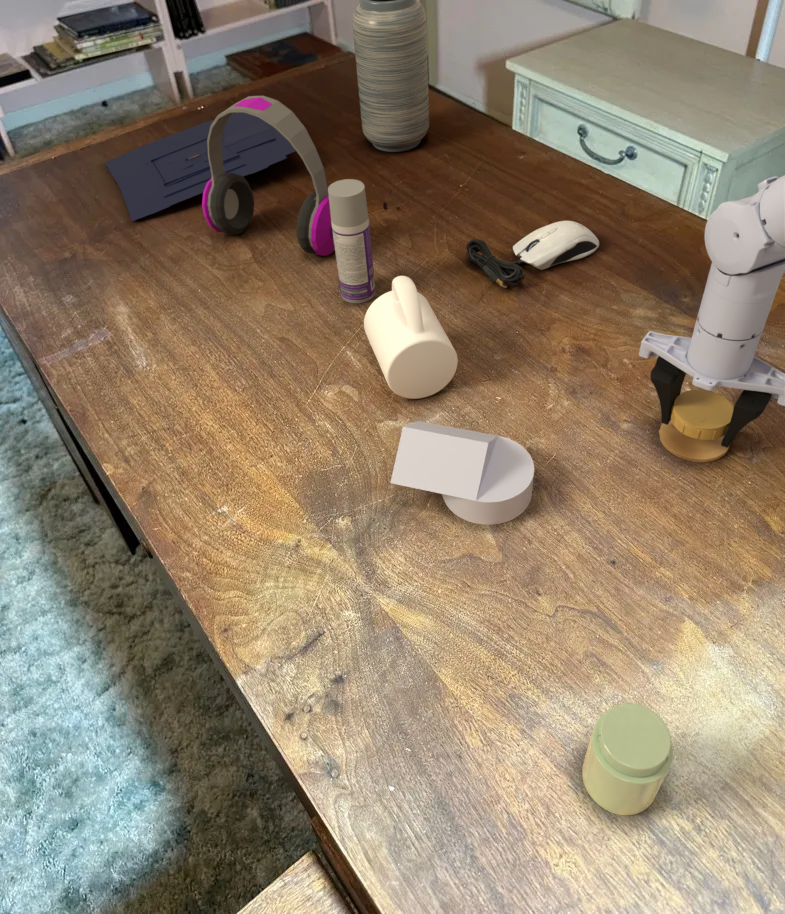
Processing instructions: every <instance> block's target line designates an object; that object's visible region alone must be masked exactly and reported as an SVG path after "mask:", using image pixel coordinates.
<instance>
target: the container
mask: <svg viewBox="0 0 785 914" xmlns="http://www.w3.org/2000/svg"><path fill="white" fill-rule="evenodd" d="M327 187H328V195H329V205H330V214H331V223H332V232H333V239H334V246H335V249H334V253H335V260H336V261H335V262H336V267H337V273H338V274H337V276H338V281H339V290H340V296H341V298H342V299H343V300H344V301H345V302H347V303H350V304H362V303H367V302H369V301H370V300H372V299H373V298H374V297H375V295H376V290H377V289H376V281H375V269H374V259H373V248H372V238H371V236H372V235H371V227H370V226H371V225H370V219H369V218H370V217H369V211H368V210H369V209H368V202H367V195H366V186H365V184H364V182H362V181H361V180H359V179H354V178H346V179H345V178H344V179H340V180H336V181H334V182H331V184H330V185H329V186H327Z"/></svg>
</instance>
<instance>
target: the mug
mask: <svg viewBox="0 0 785 914" xmlns="http://www.w3.org/2000/svg"><path fill="white" fill-rule="evenodd" d="M363 328H364V332H365V336H366V338H367V340H368V343H369V345H370V347H371V349H372V351H373V354H374V357H375V358H376V361H377V362H378V365H379V367H380V369H381V373H382V374H383V377H384V378H385V381H386V383H387V386H388V388H389V389H390V390H391V391H392V392H393V394H395V395H397V396H399V397H402V398H404V399H411V400H417V399H423V398H428V397H431V396H433V395H435V394H437V393H439V392H440V391H441V390H443V389H444V388H445V387H446V386H448V384H449V383H450V382H451V381H452V379H453V378H454V376H455V374H456V372H457V368H458V363H459V360H458V354H457V351H456V350H455V347H454V346H453V344H452V343H451V340H450V338H449V337H448V335H447V334H446V332H445V330H444V328H443V326H442V324H441V323H440V321H439V319H438V317H437V316H436V314H435V312H434V310H433V308H432V306H431V305H430V303H429V302H428V299H426V297H425V296H424V295H423V294H422V293H420V292H418V289H417V286H416V285H415V282H414V280H413V279H412V278H410V277H409V276H406V275H398V276H395V277H394V278H393V279H392V281H391V290H390V291H387V292H385V293H383V294H381V295H380V296H379V297H377V298H376V299H374V301H373V302H372V303H371V304H370V306H369V307H368V309H367V310H366V313H365V315H364V318H363Z"/></svg>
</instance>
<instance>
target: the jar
mask: <svg viewBox="0 0 785 914" xmlns="http://www.w3.org/2000/svg"><path fill="white" fill-rule="evenodd" d="M673 761H674V745H673V741H672V737H671V733H670V730H669V728H668V726H667V724H666V722H665V721H664V720H663V718H662V717H661V716H660V715H659V714H658V713H656V712H655V711H654V710H652V709H651V708H649V707H647V706H645V705H641V704H639V703H632V702H625V703H619V704H617V705H614V706H611V707H610V708H608V709H607V710H606V711H605V712H604V713H603V714H601V715H600V716H599V717H598V719H597V720H596V722H595V724H594V726H593V728H592V731H591V735H590V738H589V743H588V746H587V749H586V752H585V756H584V759H583V762H582V767H581V768H582V769H581V775H582V781H583V785H584V788H585V789H586V791H587V793H588V795H589V796H590V798H591V799H592V801H594V802H595V804H596V805H598V806H599V807H600V808H602V809H603V810H606V811H607V812H609V813H612V814H614V815H618V816H634V815H638V814H640V813H642V812H644V811H645V810H647V809H648V808H649V807H650V806H651V805H652V804H653V802H654V800H655V798H656V797H657V794H658V793H659V790H660V789H661V786H662V785H663V783H664V780H665V778H666V776H667V774H668V772H669V770H670V768H671V766H672V764H673Z"/></svg>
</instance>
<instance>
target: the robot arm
mask: <svg viewBox="0 0 785 914" xmlns="http://www.w3.org/2000/svg"><path fill="white" fill-rule="evenodd" d="M757 189H758V190H757V191H756V192H755V193H754V194H753V195H751V196H747V197H744V198H741V199H738V200H727V201H724V202H722V203H720V204H719V205H718V207H717V208H716V209H715V210H713V211H712V212H711V214H710V215H709V217H708V218H707V220H706V224H705V228H704V236H703V237H704V245H705V251H706V253H707V256H708V257H709V259H710V262H711V264H710V268H709V271H708V276H707V280H706V282H705V287H704V291H703V294H702V298H701V302H700V306H699V308H698V312H697V317H696V320H695V323H694V327H693V331H692V334H691V336H690V337H689V336H682V335H681V336H680V335H671V334H664V333H660V332H656V331H652V330H649V331H648V332H647V333H646V334H645V336H644V337H643V338H642V340H641V342H640V347H639V350H638V357H641V358H644V359H646V360H649V359H650V358H651V357H654V358H656V363H654V367H653V368H652V369H651V371H650V382H651V383H652V384H653V386H654V388H655V391H656V393H657V397H658V400H659V405H660V412H661V413H660V415H661V424H662V423H663V424H666V425H668V424H669V422H670V421H671V409H672V405H673V404H674V401H675V399H676V398H677V396H679V395H680V394H681V393H682V392H681V391H682V387H683V384H684V381H685V378H686V375H689V376H690V377H692V381H691V384H692V385H693V386H694V387H697V388H699V389H701V390H708V391H712V392H714V390H715V389H716V388H717V387H718V388H719V387H720V388H726V389H734V390H735V389H736V390H741V391H742V392H741V393H740V395H739V397H738V398H737V400H736V402H735V403H734V405H733V408H734V409H733V414H732V417H731V421H730V424H729V427H728V429H727V431H726V433H725V436H724V438H723V440H722V443H721V446H724V447H726V448H727V447H729V448H730V446H729V445H731V443H732V442H733V440H734V438H735V437H736V436H737V435H738V434H739V432H740V431H741V430H742V429H743V428H745V427H746V426H747V425H748V424H750V423H751V422H753V421H754V420H756V419H758V418H759V417H760V416H761V415H762V414H763V413H764V412H765V410H766V408H767V406H768V405H769V402H770V401H771V399H772V398H773V399H776V400H777V401H776V403H777V404H778V405H780V406H783V407H785V373H784V372H782V371H781V370H779V369H778V368H776V367H774V366H772V365H771V364H769V363H768V362H766V361H763V360H762V359H760V358H759V357H757V356H755V355H756V352H757V349H758V346H759V343H760V341H761V338H762V335H763V332H764V329H765V325H766V323H767V320H768V318H769V315H770V312H771V309H772V306H773V303H774V300H775V298H776V294H777V292H778V289H779V286H780V283H781V281H782V278H783V275H784V274H785V174H784V175H782V176H780V177H779V176H778V175H774V176H771V177H768V178H766V179H764V180H762V181H760V182H759V183H758V184H757Z"/></svg>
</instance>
